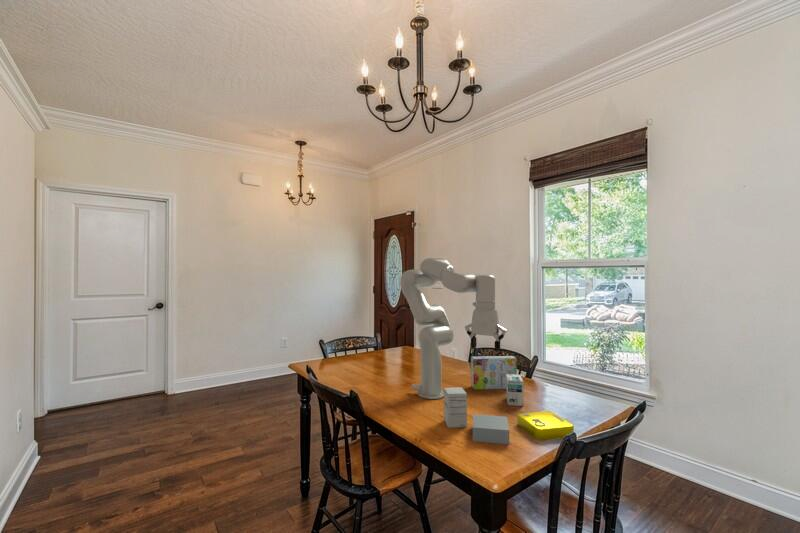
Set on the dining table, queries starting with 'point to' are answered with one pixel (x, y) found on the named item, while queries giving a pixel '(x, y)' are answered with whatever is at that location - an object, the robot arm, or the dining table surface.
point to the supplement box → (455, 407)
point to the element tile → (544, 425)
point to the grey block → (490, 429)
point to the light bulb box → (515, 389)
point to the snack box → (491, 371)
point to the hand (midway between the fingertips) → (485, 349)
